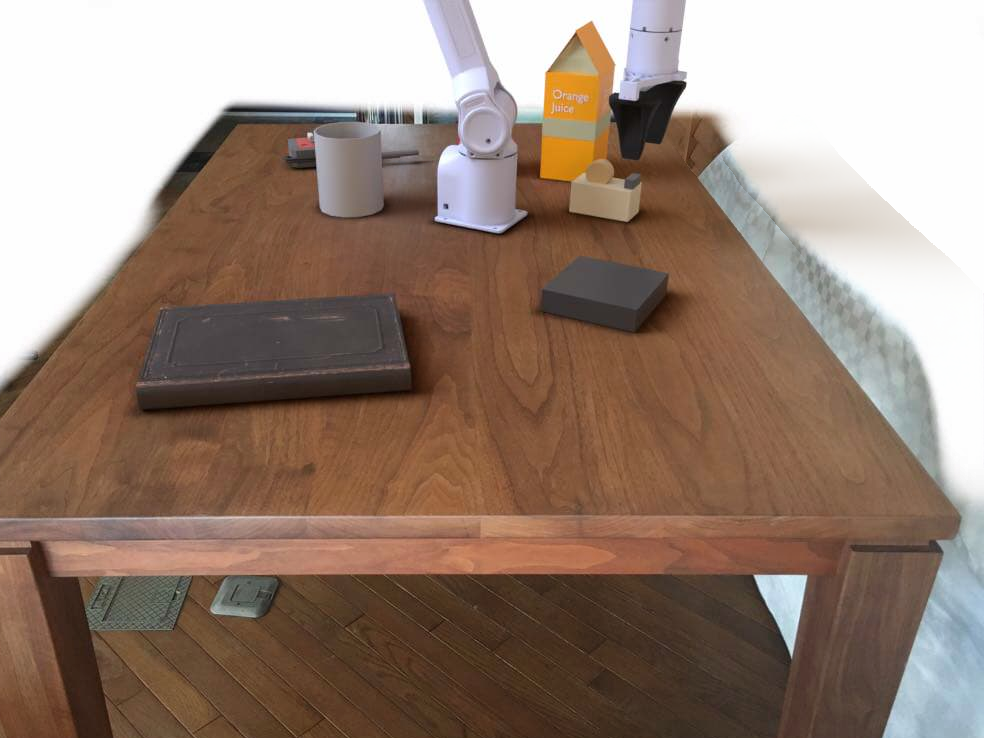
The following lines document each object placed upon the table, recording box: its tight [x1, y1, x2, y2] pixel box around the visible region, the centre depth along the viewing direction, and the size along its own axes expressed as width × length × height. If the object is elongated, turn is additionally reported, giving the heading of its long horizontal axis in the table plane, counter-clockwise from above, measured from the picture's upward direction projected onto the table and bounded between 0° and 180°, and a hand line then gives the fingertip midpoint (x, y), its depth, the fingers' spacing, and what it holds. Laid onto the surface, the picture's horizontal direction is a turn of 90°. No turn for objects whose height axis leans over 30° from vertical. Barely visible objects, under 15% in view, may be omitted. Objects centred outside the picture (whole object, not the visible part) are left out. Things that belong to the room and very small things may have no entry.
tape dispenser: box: [568, 159, 643, 223], centre depth 115 cm, size 8×4×7 cm, turn 61°
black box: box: [540, 255, 670, 333], centre depth 93 cm, size 10×10×2 cm
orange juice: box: [539, 20, 617, 182], centre depth 126 cm, size 8×9×20 cm
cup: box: [313, 121, 385, 218], centre depth 117 cm, size 8×8×10 cm
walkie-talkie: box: [283, 132, 420, 169], centre depth 136 cm, size 9×4×20 cm
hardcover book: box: [135, 292, 412, 411], centre depth 83 cm, size 16×23×2 cm
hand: (641, 150), depth 107 cm, fingers open, 7 cm apart
